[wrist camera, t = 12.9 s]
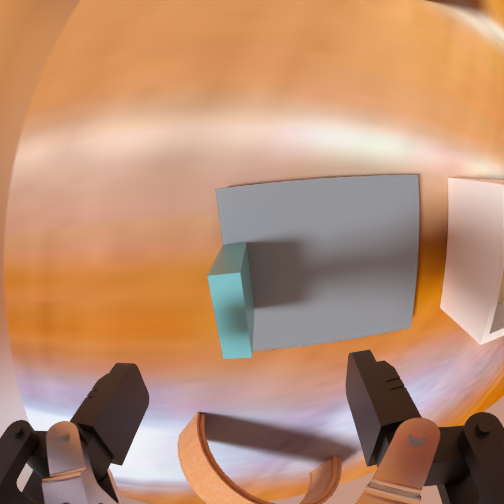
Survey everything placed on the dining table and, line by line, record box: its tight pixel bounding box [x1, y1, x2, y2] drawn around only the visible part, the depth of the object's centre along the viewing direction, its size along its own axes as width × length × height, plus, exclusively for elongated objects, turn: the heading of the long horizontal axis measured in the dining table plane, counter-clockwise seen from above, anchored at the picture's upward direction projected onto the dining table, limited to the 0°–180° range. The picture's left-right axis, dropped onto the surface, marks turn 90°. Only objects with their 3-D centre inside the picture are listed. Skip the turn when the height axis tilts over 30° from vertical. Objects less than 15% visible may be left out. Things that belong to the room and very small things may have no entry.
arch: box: [178, 412, 341, 504], centre depth 23 cm, size 6×20×10 cm, turn 59°
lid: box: [208, 175, 419, 359], centre depth 18 cm, size 15×13×8 cm
